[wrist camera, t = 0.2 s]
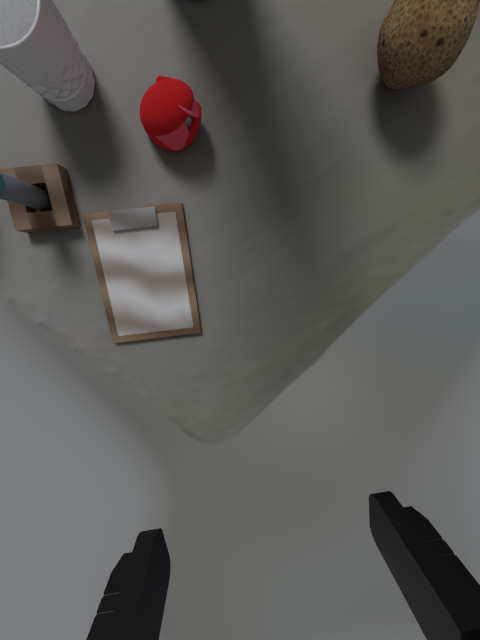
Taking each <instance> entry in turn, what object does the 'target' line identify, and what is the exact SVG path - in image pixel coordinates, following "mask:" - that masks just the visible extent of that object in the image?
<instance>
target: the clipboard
mask: <svg viewBox="0 0 480 640" xmlns="http://www.w3.org/2000/svg"><path fill="white" fill-rule="evenodd" d="M83 217H84V222H85V226H86V230H87V234H88V239H89V243H90V247H91V251H92V255H93V260H94V264H95V268H96V272H97V277H98V281H99V285H100V289H101V293H102V298H103V302H104V306H105V310H106V315H107V319H108V323H109V327H110V332H111V336H112V340H113V343H120V342H129V341H137V340H145V339H154V338H162V337H170V336H179V335H187V334H195V333H201V332H202V331H201V324H200V318H199V311H198V304H197V298H196V291H195V284H194V278H193V271H192V264H191V258H190V251H189V244H188V238H187V231H186V224H185V218H184V211H183V204H182V203H176V204H166V205H157V206H147V207H138V208H128V209H118V210H109V211H99V212H90V213H83Z"/></svg>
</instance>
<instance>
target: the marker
mask: <svg viewBox="0 0 480 640" xmlns="http://www.w3.org/2000/svg"><path fill="white" fill-rule="evenodd" d="M0 199H4V200H7V201H10V202H14V203H17V204H21V205H24V206H28V207H31V208H34V209H38V210H42V211H44V210H47V209H50V208H52V205H51V201H50V197H49V193H48V192H47V191H46V190H44V189H41V188H39V187H37V186H34V185H32V184H29V183H27V182H24V181H22V180H20V179H17V178H15V177H12V176H10V175H7V174H5V173H3V172H0Z"/></svg>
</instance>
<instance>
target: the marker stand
mask: <svg viewBox="0 0 480 640" xmlns="http://www.w3.org/2000/svg"><path fill="white" fill-rule="evenodd" d="M0 172H3V173H5V174H7V175H10V176H12V177H15V178H17V179H20V180H22V181H24V182H27V183H29V184H32V185H34V186H37V187H39V188H47V190H48V193H49V197H50V201H51V205H52V209H53V210H51V211H42V212H37V211H36V209H34V208H31V207H28V206H24V205H21V204H17V203H14V202H10V201H8V204H9V208H10V211H11V215H12V218H13V221H14V225H15V228H16V231H22V232H36V231H45V230H55V229H64V228H74V227H80V223H79V219H78V215H77V211H76V207H75V203H74V198H73V194H72V190H71V186H70V182H69V178H68V174H67V169H65V168H63V167H62V166H60V165H58V164H49V165H39V166H29V167H19V168H8V169H0Z"/></svg>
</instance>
